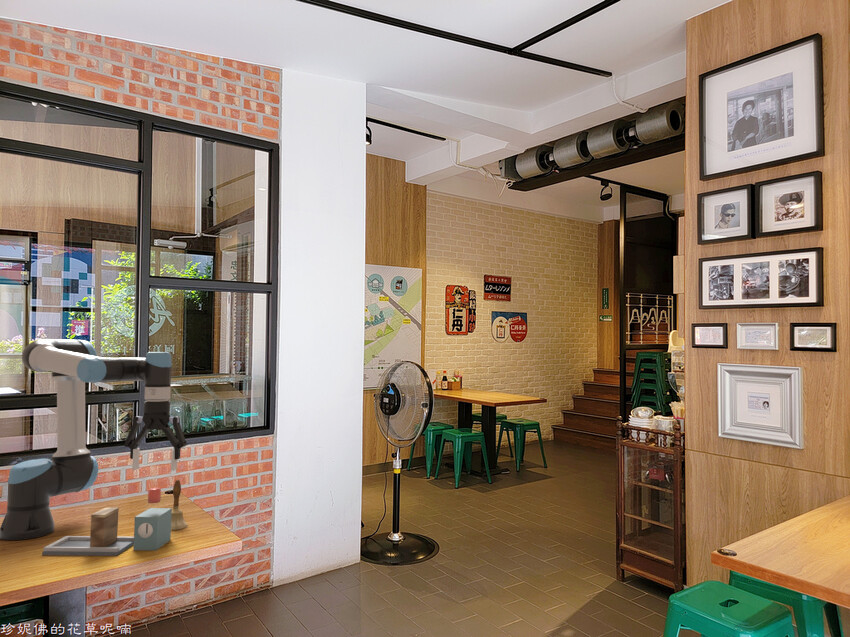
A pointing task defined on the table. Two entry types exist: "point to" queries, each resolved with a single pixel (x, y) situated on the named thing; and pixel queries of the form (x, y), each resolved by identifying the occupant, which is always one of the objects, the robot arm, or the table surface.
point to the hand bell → (177, 509)
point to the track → (86, 547)
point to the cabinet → (152, 529)
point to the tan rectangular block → (104, 527)
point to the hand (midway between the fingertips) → (154, 469)
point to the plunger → (154, 495)
